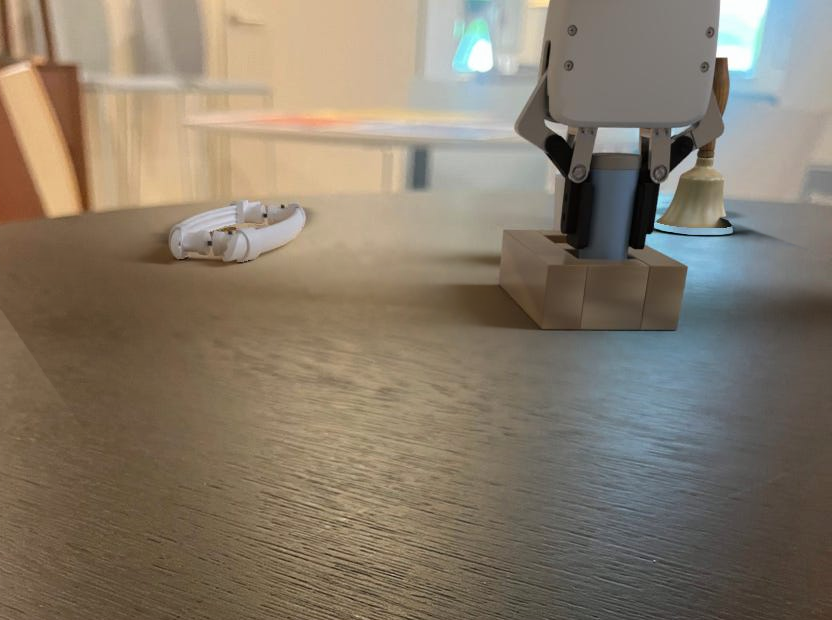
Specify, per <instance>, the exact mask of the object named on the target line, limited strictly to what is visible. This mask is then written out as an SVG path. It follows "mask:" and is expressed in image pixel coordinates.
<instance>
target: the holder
mask: <svg viewBox="0 0 832 620" xmlns="http://www.w3.org/2000/svg"><path fill="white" fill-rule="evenodd" d="M566 235H567V234H562V233H561V230H554V229H537V230H536V229H503V231H502V241H501V253H500V262H499V263H500V264H499V274H498V285H499V286H500V287H501V288H502V290H503V291H505V293H506V294H507V295H508V296H509V297H510V298H511V299H512V300H513V301H514V302H515V303H516V304H517V305H518V306H519V307H520V308H521V309H522V310H523V311H524V313H526V315H528V316H529V318H530V319H531V320H532V321H533V322H534V323H535V324H536V325H537V326H538V327H539V328H540V329H541V330H559V331H560V330H561V331H563V330H565V331H566V330H569V331H570V330H574V331H575V330H576V331H577V330H581V331H584V330H587V331H598V330H599V331H677V330H678V327H679V321H680V316H681V309H682V304H683V299H684V292H685V286H686V280H687V275H688V269H689V266H688V265H686V264H685V263H682V262H680V261H678V260H676V259H674V258H672V257H670V256H668V255H667V254H665V253H662V252H661V251H659V250H656V249H655V248H653V247H651V246H649V245H647V244H645V246H644V249H643V250H635V249H633V248H631V247H629V250H628V257H627V259H578V258H579V249H575V248H573V247H571V246H570V245H568V244H567V242H566Z"/></svg>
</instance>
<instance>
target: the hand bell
mask: <svg viewBox="0 0 832 620" xmlns="http://www.w3.org/2000/svg"><path fill="white" fill-rule="evenodd" d="M730 80H731V79H730V71H729V58H728V57H726V56H725V57H724V56H723V57H721V56H720V57H717V56H716V61H715V70H714V77H713V84H712V88H713V91H714V94H715V97H716V101H717V104H718V107H719V110H720V114H721V117H722V118H723V116H724V114H725V111H726V109H727V104H728V100H729V96H730V89H731V85H730V84H731V81H730ZM716 143H717V139H715V140H713V141H711V142H709V143H708V144H706V145H704V146H702V147H700V148H699V149H698V150H697V153H696V157H697V158H696V162H695V164H694V166H693V167H691V168H690V169H688V170H687V171H685V172H683V173H682V174H680V176H679V178H678V182H677V186H676V189H675V192H674V194H673V197H672V199H671V202H670V204H669V206H668V207H667V209H666V210H665V211H664V213H663V214H662V215H661V216H660V217H659V218H658V219H656V220H655V222H657V223H660V224H664V225H669V226H676V227H687V228H727V227H731V226H733V224H732V223H731V222H730V220H729V219H726V218H724V217H726V216H727V214H726V213H727V212H726V209H725V203H724V186H725V177H724V175H722V174H721V173H720V172H718V171H717V170H716V169H715V168H714V160H715V159H714V157H715V154H716V153H715V149H716Z"/></svg>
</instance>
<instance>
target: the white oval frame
mask: <svg viewBox="0 0 832 620" xmlns="http://www.w3.org/2000/svg"><path fill="white" fill-rule="evenodd" d="M287 204H288V205H287V206H288V207H285V204H283V203H282V204H280V207H278V206H277V205H275V204H269V205H268V207H267V213H266V206H265V205H264V204H261V201H251V202H249V199H240V200H239V199H238V200H233V201H232V202H231V203H230V204H229V205H227V206H223V207H218V208H214V209H211V210H206V211H203V212H202V211H201V212H200V213H197V214H194V215H192V216H189V217H187V218H185V219H184V220H182V221H180V223H176V224H174V225H173V226H172V227H171V229H170V231H169V235H168V247H169V250H170V252H171V255H173V256H174V258H176V259H177V260H179V259H181V258H184V257H185V256H187V255H190V253H197V254H198V255H199V256H209V255H210V254H211V250H212V253H213V255H214V256H215V257H221V256H222V257H223V258H222V261H223V262H232V261H236V263H237V262H243V263H245V262H244V261H247V262H249V261H248V260H251V261H253V260H252V259H254V260H256V259H257V258H258V257H260V255H261V254H263V253H266V252H269V251H272V250H275V249H277V248H280V247H282V246H285V245H287V244H288V243H290V242H292V241H293V240H294V239H296V238H297V237H298V236H299V235H300V233H301V231H302V230H303V228H304V227H305V225H306V220H307V218H306V213H305V209H303V207H302V206H301V205H300V204H299V203H298V202H297V201H291V202H288V203H287ZM266 219H267V226H262V227H260V228H255V227H253V226H249V227H240V228H238V229H235V233H233V230H231V229H227V233H225V231H222V230H219V231H214V232H212V236H211V233H209V232H210V231H213V230H216V229H219V228H222V227H224V226H229V225H233V224H237V223H239V224H244V223H251V224H254V225H256V224H263V223H265V224H266ZM269 225H270V226H269ZM302 227H303V228H302Z"/></svg>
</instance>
